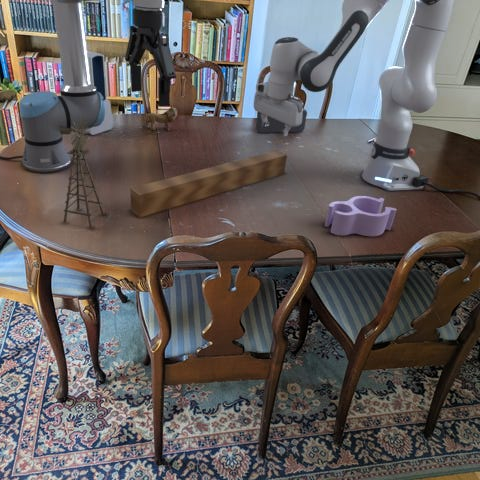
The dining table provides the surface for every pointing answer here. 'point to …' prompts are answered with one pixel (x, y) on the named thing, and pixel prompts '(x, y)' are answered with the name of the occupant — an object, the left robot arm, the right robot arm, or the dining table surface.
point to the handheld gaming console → (278, 124)
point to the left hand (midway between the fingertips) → (149, 98)
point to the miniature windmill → (78, 148)
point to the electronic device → (99, 90)
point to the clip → (359, 216)
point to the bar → (205, 183)
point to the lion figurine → (162, 118)
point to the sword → (371, 140)
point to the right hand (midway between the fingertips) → (274, 131)
